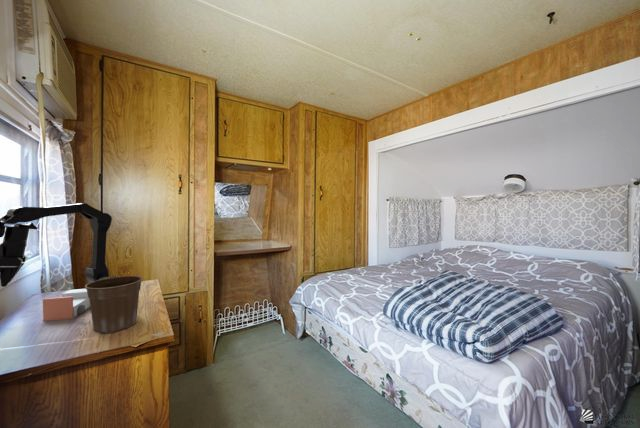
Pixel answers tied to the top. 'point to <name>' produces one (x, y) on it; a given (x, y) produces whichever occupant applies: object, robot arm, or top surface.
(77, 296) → the white stepped block
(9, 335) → the top surface
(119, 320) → the plant pot
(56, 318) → the tailgate
